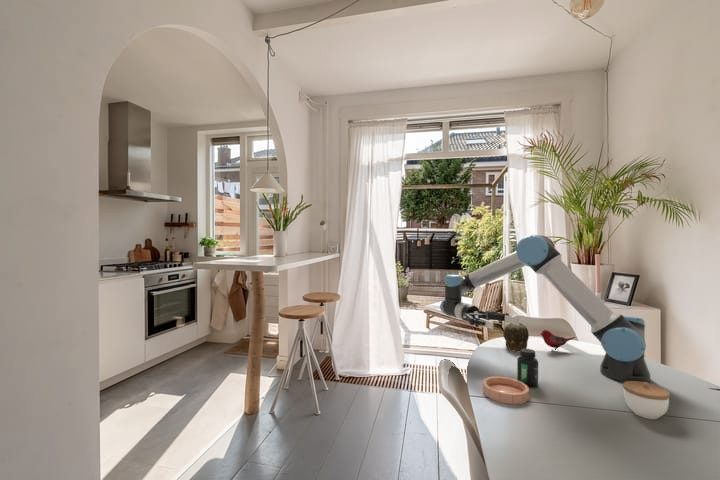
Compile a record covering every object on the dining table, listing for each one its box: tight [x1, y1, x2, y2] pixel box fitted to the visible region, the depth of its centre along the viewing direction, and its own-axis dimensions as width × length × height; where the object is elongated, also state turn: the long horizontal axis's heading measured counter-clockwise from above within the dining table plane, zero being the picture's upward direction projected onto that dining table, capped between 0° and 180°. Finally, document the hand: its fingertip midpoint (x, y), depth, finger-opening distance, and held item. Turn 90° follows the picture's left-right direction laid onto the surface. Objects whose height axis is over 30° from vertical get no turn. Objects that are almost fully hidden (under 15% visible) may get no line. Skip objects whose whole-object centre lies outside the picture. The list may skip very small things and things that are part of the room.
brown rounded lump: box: [502, 322, 530, 352], centre depth 163 cm, size 11×11×12 cm
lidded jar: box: [622, 381, 671, 420], centre depth 102 cm, size 11×11×9 cm
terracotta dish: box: [482, 376, 530, 405], centre depth 115 cm, size 14×14×3 cm
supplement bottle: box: [516, 348, 539, 389], centre depth 123 cm, size 7×7×12 cm
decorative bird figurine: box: [540, 329, 576, 350], centre depth 160 cm, size 3×18×10 cm, turn 96°
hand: (506, 323), depth 132 cm, fingers open, 13 cm apart
